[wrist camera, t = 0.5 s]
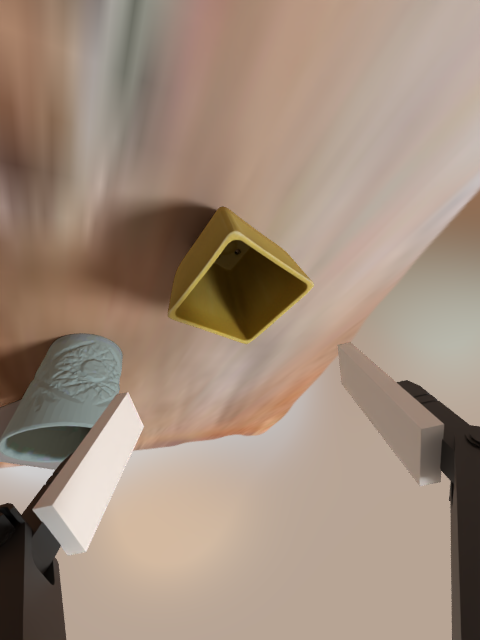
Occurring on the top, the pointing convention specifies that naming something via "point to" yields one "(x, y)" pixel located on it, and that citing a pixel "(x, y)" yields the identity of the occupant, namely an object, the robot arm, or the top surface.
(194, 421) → the top surface
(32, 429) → the grey-green cup
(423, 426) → the robot arm
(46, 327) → the top surface
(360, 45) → the top surface
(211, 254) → the flower pot
